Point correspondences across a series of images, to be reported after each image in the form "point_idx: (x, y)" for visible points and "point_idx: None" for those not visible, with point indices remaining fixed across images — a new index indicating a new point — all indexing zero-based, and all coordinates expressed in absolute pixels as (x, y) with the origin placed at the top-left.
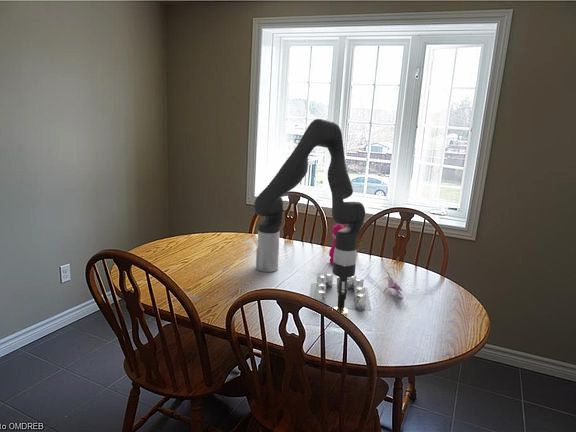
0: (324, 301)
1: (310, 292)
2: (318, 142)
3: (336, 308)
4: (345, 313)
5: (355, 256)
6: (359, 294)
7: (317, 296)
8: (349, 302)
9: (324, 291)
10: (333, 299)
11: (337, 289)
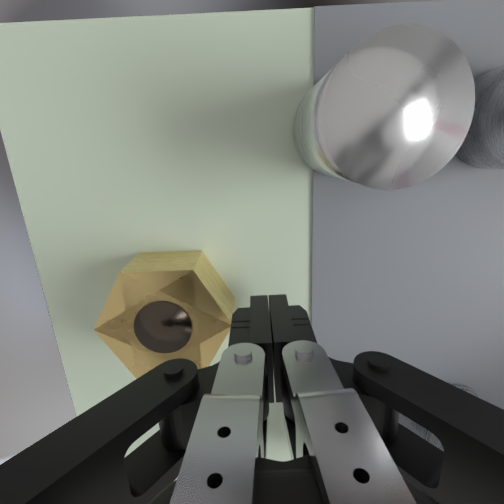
0: (328, 174)
1: None
2: None
3: (185, 296)
4: (128, 364)
5: None
6: None
7: (322, 80)
8: (418, 357)
9: (418, 170)
10: (463, 241)
11: (189, 439)
